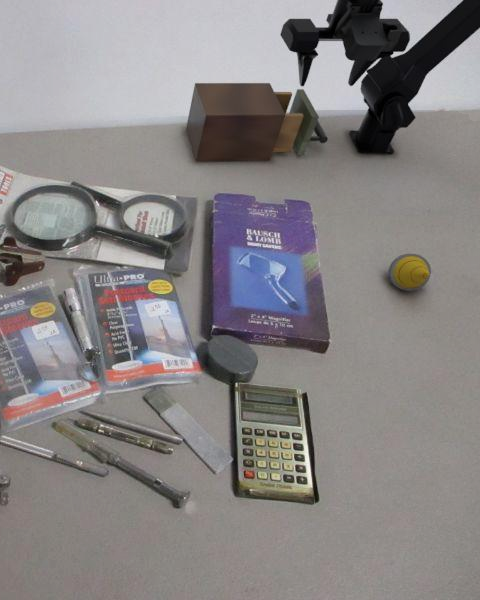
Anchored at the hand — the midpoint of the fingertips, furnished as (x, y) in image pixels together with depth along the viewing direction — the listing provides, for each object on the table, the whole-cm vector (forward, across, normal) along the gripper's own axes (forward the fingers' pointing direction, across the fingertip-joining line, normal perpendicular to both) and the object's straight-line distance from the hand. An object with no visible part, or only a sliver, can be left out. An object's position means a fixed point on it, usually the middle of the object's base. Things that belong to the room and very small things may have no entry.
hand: (325, 84), depth 100 cm
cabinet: (+12, -14, 0) cm, 19 cm away
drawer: (+11, -5, 0) cm, 12 cm away
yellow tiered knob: (+12, +4, -35) cm, 37 cm away
